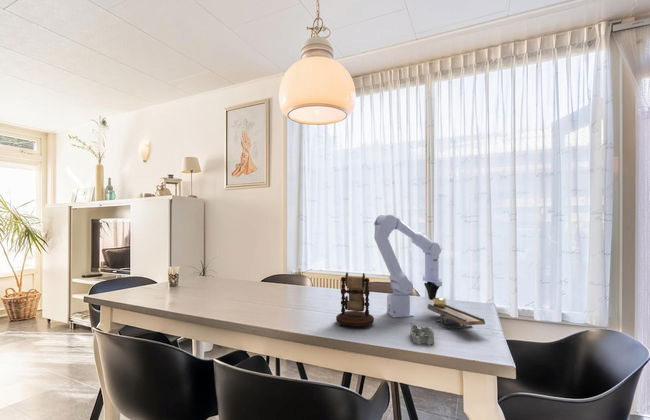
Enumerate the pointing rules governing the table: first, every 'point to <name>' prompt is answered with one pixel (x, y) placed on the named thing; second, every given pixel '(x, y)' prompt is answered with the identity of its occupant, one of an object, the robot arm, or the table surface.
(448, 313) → the beam
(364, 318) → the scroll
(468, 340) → the table surface
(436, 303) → the brass weight
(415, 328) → the egg carton
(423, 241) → the robot arm
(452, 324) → the pivot bracket
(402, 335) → the table surface
